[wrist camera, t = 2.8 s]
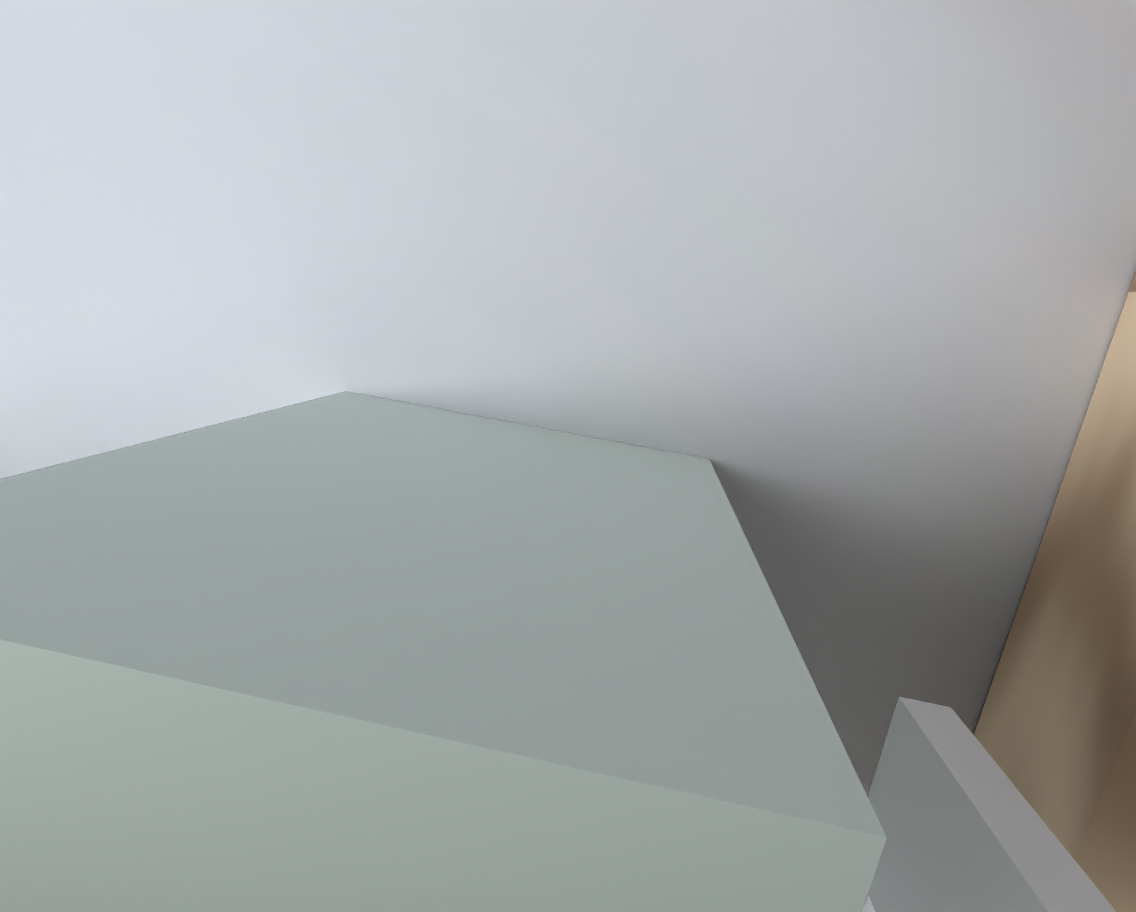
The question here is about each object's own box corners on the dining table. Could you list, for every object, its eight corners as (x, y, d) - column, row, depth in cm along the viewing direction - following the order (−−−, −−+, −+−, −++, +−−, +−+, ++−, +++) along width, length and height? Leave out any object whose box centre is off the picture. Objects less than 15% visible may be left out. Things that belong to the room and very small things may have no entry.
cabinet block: (346, 391, 13) (-337, 564, 4) (709, 458, 12) (887, 837, 3) (313, 756, 14) (-197, 1440, 6) (626, 829, 14) (601, 1703, 5)
